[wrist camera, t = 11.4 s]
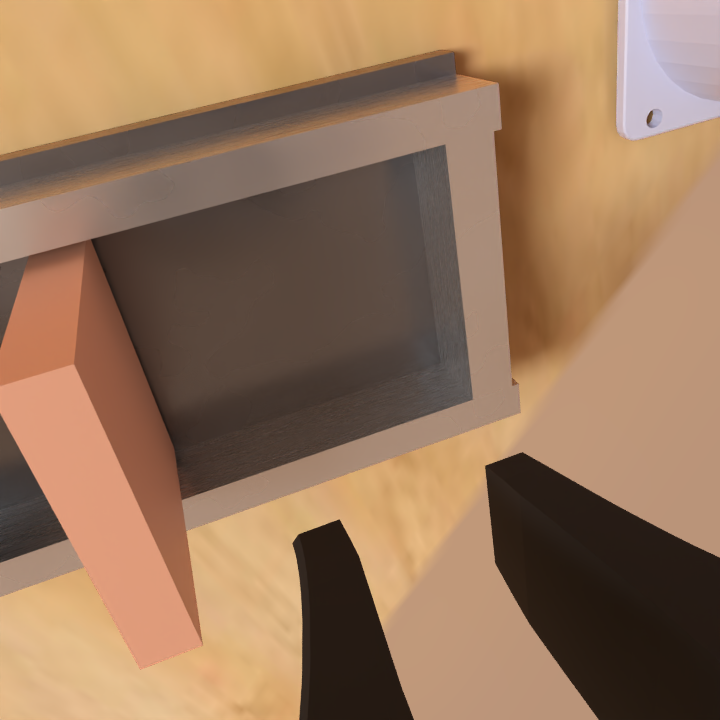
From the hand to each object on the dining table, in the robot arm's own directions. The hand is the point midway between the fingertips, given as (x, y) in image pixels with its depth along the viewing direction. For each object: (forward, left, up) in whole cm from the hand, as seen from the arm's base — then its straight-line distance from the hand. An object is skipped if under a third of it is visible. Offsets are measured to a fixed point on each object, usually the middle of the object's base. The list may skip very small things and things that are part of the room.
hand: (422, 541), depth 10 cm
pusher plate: (+5, 0, -9) cm, 10 cm away
